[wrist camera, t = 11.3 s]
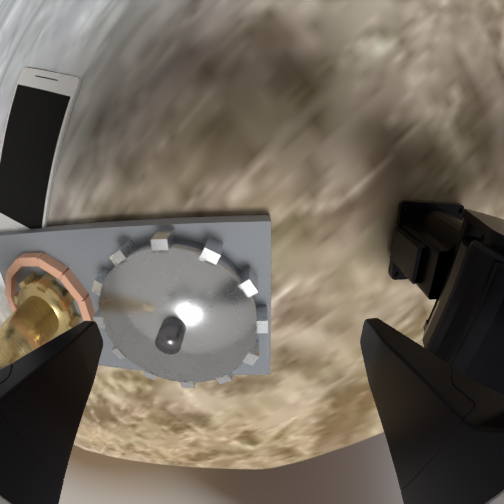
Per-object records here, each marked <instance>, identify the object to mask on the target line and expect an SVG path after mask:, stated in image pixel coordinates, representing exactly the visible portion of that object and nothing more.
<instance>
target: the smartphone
mask: <svg viewBox="0 0 504 504" xmlns="http://www.w3.org/2000/svg"><path fill="white" fill-rule="evenodd" d="M80 85H81V78H78V77H74V76H69V75H65V74H60V73H55V72H50V71H44V70H39V69H33V68H27V67H24V68H23V69H22V70H21V72H20V75H19V78H18V81H17V84H16V87H15V91H14V94H13V98H12V101H11V105H10V109H9V113H8V117H7V121H6V126H5V130H4V135H3V140H2V146H1V151H0V232H8V231H19V230H28V229H39V228H45V227H46V226H47V221H48V214H49V207H50V200H51V194H52V189H53V183H54V178H55V173H56V169H57V164H58V160H59V155H60V151H61V147H62V143H63V140H64V136H65V132H66V129H67V125H68V122H69V118H70V115H71V112H72V109H73V106H74V103H75V100H76V97H77V94H78V91H79V88H80Z"/></svg>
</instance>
